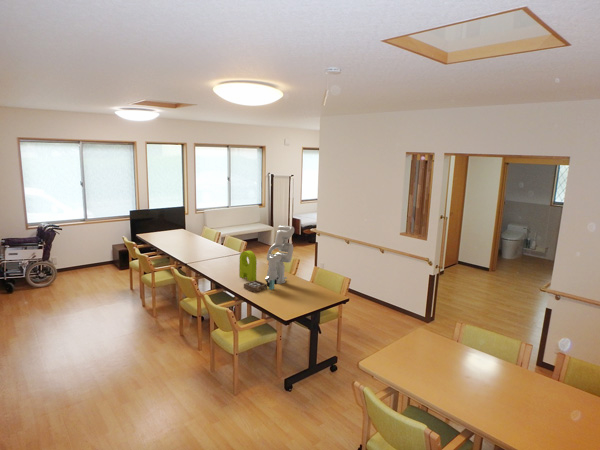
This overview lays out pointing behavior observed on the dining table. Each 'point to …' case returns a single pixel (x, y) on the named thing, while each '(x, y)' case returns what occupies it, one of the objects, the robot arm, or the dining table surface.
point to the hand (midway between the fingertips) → (271, 285)
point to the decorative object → (247, 265)
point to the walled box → (255, 286)
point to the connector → (271, 284)
